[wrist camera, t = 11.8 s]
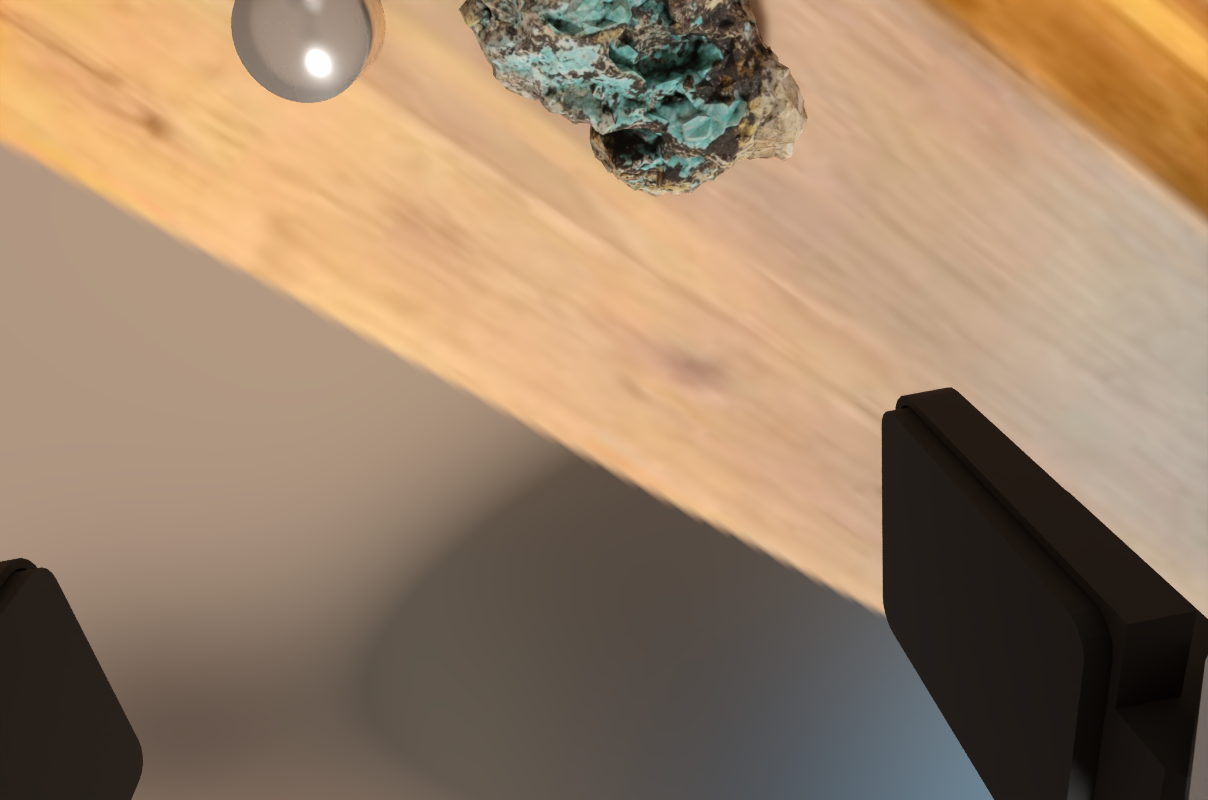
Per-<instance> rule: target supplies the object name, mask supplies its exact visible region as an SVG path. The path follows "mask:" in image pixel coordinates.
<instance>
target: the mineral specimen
mask: <svg viewBox="0 0 1208 800" xmlns="http://www.w3.org/2000/svg"><path fill="white" fill-rule="evenodd" d="M459 10H460V12H461V14H462V16H463V18H464V20H465V22H466V24H467V26H468V27H470V28H472V30H473V32H474V34H475V36H476V38H477V40H478V43H479V45H480V47H481V49H482V51H483V52H484V55H485V57H486V59H487V61H488V62H489V63H490V65H491V66H492V67H493V75H494V76H495V78H496V79H497V80H498V81H499V82H500V83H501V84H502V85H503V86H504V87H505V88H506V89H507V90H510V91H512V92H514V93H517V94H519V95H521V96H523V97H526V98H528V99H530V100H536V101H540V102H541V103H542V105H543V106H544V107H545V108H546V109H547V110H548V111H549V112H552V113H556V114H561V115H562V116H564V117H565V118H567V119H568V120H569V121H571V122H572V123H574V124H575V125H576V124H578V123H589V124H590V125H591V126H590V143H591V146H592V149H593V152H594V155H595V157H596V158H597V159H598V160H600V161H601V162H602V163H603V165H604V166H605V168H606V169H607V171H608V172H610V173H613V174H614V175H615V176H616V177H617V179H622V181H623V182H624V183H625V184H627V185H628V186H629V187H631V188H632V189H633V190H635V191H636V190H639V191H642V192H644V193H647V194H649V195H652V196H654V197H658V196H660V195H663V194H665V193H667V192H670V193H671V194H673V195H676V194H682V193H692V192H693V191H694V190H695V189H696V188H697V187H698V186H700V185H701V184H702V183H703V182H706V181H709V180H714V179H715V178H716V177H717V176H719V175H720V174H722V173H723V172H724V171H726V170H727V169H729V168H730V167H731V166H733V165H734V164H736V163H737V162H738V161H740V160H742V159H744V158H746V157H747V158H748V159H754V158H765V159H768V158H771V157H777V158H779V159H781V160H783V161H785V160H786V159H788V158H789V157H791V156H792V154H793V143H795V141H796V140H797V139H798V137H799V136H800V135H801V133H802V132H803V130H804V127H805V124H806V121H807V115H806V112H805V109H804V100H803V97H802V94H801V92H800V89H799V87H798V85H797V84H796V82H795V80H794V79H793V77H792V76H791V74H790V69H789V68H788V67H786V66H784V65H782V64H780V63H779V62H778V57H777V56H776V55H775V54H774V53H773V51H772V50H771V48H770V46H769V47H767V46H766V44H765V43H764V41H763V39H762V37H761V35H760V33H759V30H758V28H757V26H756V19H755V17H754V15H753V13H752V11H751V8H750V6H749V1H748V0H466V1H465V3H464V4H463V5H462V6H461V8H460V9H459Z"/></svg>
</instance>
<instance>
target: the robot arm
mask: <svg viewBox="0 0 1208 800" xmlns="http://www.w3.org/2000/svg"><path fill="white" fill-rule="evenodd" d="M882 537H883V604H884V609H885V614H886V617H887V620H888V623H889V626H890V628H891V630H892V632H893V634H894V635H895V637H896V639H897V640H898V642H899V643H900V645H901V647H902V648H903V650H904V652H905V653H906V655H907V657H908V658H909V660H910V662H911V663H912V665H913V666H914V668H915V670H916V671H917V673H918V675H919V676H920V678H921V680H922V681H923V683H924V685H925V686H926V688H927V690H928V691H929V693H930V694H931V696H932V698H933V700H934V701H935V703H936V704H937V706H938V708H939V709H940V711H941V713H942V714H943V716H944V718H945V719H946V721H947V723H948V724H949V726H950V728H951V729H952V731H953V732H954V734H955V736H956V737H957V739H958V741H959V742H960V744H961V746H962V747H963V749H964V750H965V752H966V754H967V756H968V757H969V759H970V760H971V762H972V764H973V765H974V767H975V769H976V770H977V772H978V774H979V775H980V777H981V778H982V780H983V782H984V784H985V785H986V787H987V789H988V790H989V792H990V793H991V795H992V797H993V798H994V800H1208V619H1207V618H1206V617H1205V616H1204V615H1203V614H1202V613H1201V612H1199V611H1198V610H1197V609H1196V608H1195V607H1194V606H1193V605H1192V604H1191V603H1190V602H1188V601H1187V600H1186V599H1185V598H1184V597H1183V596H1182V595H1181V594H1180V593H1179V592H1178V591H1176V590H1175V589H1174V588H1173V587H1172V586H1171V585H1170V584H1169V583H1168V582H1167V581H1165V580H1164V579H1163V578H1162V577H1161V576H1160V575H1159V574H1158V573H1157V572H1156V571H1155V570H1153V569H1152V568H1151V567H1150V566H1149V565H1148V564H1147V563H1146V562H1145V561H1144V560H1143V559H1141V558H1140V557H1139V556H1138V555H1137V554H1136V553H1135V552H1134V551H1133V550H1132V549H1130V548H1129V547H1128V546H1127V545H1126V544H1125V543H1124V542H1123V541H1122V540H1121V539H1120V538H1118V537H1117V536H1116V535H1115V534H1114V533H1113V532H1112V531H1111V530H1110V529H1109V528H1107V527H1106V526H1105V525H1104V524H1103V523H1102V522H1101V521H1100V520H1099V519H1098V518H1097V517H1095V516H1094V515H1093V514H1092V513H1091V512H1090V511H1089V510H1088V509H1087V508H1086V507H1084V506H1083V505H1082V504H1081V503H1080V502H1079V501H1078V500H1077V499H1076V498H1075V497H1074V496H1072V495H1071V494H1070V493H1069V492H1067V491H1066V490H1065V489H1064V488H1063V487H1061V486H1060V485H1059V484H1058V483H1057V482H1056V481H1055V480H1054V479H1053V478H1052V477H1051V476H1049V475H1048V474H1047V473H1046V472H1045V471H1044V470H1043V469H1042V468H1041V467H1040V466H1039V465H1037V464H1036V463H1035V462H1034V461H1033V460H1032V459H1031V458H1030V457H1029V456H1028V455H1026V454H1025V453H1024V452H1023V451H1022V450H1021V449H1020V448H1019V447H1018V446H1017V445H1016V444H1014V443H1013V442H1012V441H1011V440H1010V439H1009V438H1008V437H1007V436H1006V435H1005V434H1004V433H1002V432H1001V431H1000V430H999V429H998V428H997V427H996V426H995V425H994V424H993V423H992V422H990V421H989V420H988V419H987V418H986V417H985V416H984V415H983V414H982V413H981V412H980V411H978V410H977V409H976V408H975V407H974V406H973V405H972V404H971V403H970V402H969V401H967V400H966V399H965V398H964V397H963V396H962V395H961V394H960V393H959V392H958V391H956V390H955V389H953V388H943V389H937V390H932V391H926V392H921V393H916V394H910V395H905V396H901V397H900V398H899V399H898V401H897V404H896V409H895V410H893V411H887V412H885V413H884V415H883V418H882ZM142 766H143V757H142V750H141V746H140V743H139V740H138V739H137V737H136V735H135V733H134V731H133V729H132V727H131V725H130V723H129V721H128V719H127V717H126V715H125V713H124V711H123V709H122V707H121V705H120V703H119V701H118V699H117V697H116V695H115V694H114V692H113V689H112V687H111V686H110V684H109V682H108V680H107V678H106V676H105V674H104V672H103V670H102V668H101V666H100V664H99V662H98V660H97V658H96V656H95V655H94V652H93V650H92V648H91V646H90V644H89V642H88V641H87V638H86V637H85V635H84V633H83V631H82V629H81V627H80V625H79V623H78V621H77V619H76V617H75V615H74V613H73V611H72V609H71V608H70V605H69V603H68V601H67V599H66V597H65V595H64V593H63V591H62V590H61V588H60V586H59V584H58V582H57V580H56V578H55V577H54V575H53V574H52V572H50V571H49V570H48V569H46V568H37V567H36V565H34V564H33V563H32V562H31V561H29V560H27V559H23V558H18V559H13V560H7V561H2V562H0V800H131V799H132V796H133V794H134V792H135V789H136V787H137V784H138V782H139V780H140V776H141V773H142Z"/></svg>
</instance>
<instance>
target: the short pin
mask: <svg viewBox="0 0 1208 800" xmlns="http://www.w3.org/2000/svg"><path fill="white" fill-rule="evenodd" d="M231 28H232V37H233V41H234V45H235V48H236V51H237V53H238V56H239V57H240V59H241V61H242V63H243V65H244V66H245V68H246V69H247V71H248V72H249V73H250V74H251V76H252V77H253V78H254V79H255V80H256V81H257V82H258V83H259V84H260V85H262V86H263V87H264V88H266V89H267V90H268V91H270V92H272V93H274V94H275V95H277V96H280V97H282V98H284V99H288V100H291V101H295V102H301V103H313V102H320V101H325V100H328V99H330V98H333V97H335V96H337V95H339V94H340V93H342V92H343V91H344V90H346V89H347V88H348V87H349V86H350V85H351V84H352V83H353V82H354V81H355V80H356V79H357V78H358V77H359V76H360V75H361V74H362V73H363V72H364V71H365V70H366V69H367V68H368V67H369V66H370V64H371V63H372V62H373V61H374V60H375V59H376V57H377V56H378V54H379V52H380V50H381V47H382V45H383V41H384V36H385V17H384V12H383V8H382V5H381V3H380V0H235V3H234V7H233V11H232V18H231Z"/></svg>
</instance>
